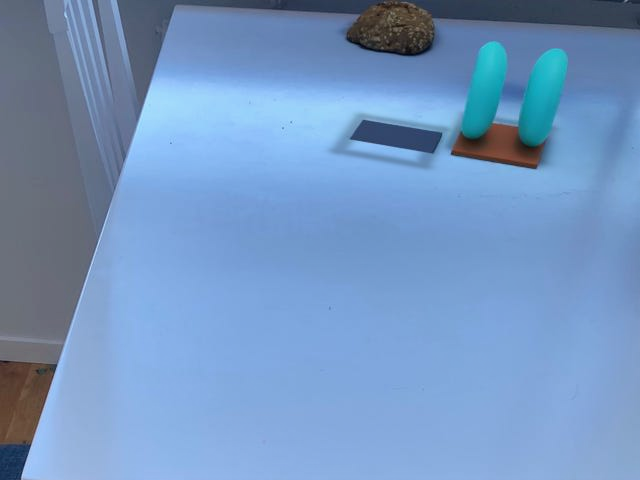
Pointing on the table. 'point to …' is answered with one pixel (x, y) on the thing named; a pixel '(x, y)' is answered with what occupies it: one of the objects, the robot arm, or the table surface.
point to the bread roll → (393, 28)
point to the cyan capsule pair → (537, 97)
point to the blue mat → (397, 136)
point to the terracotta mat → (499, 147)
